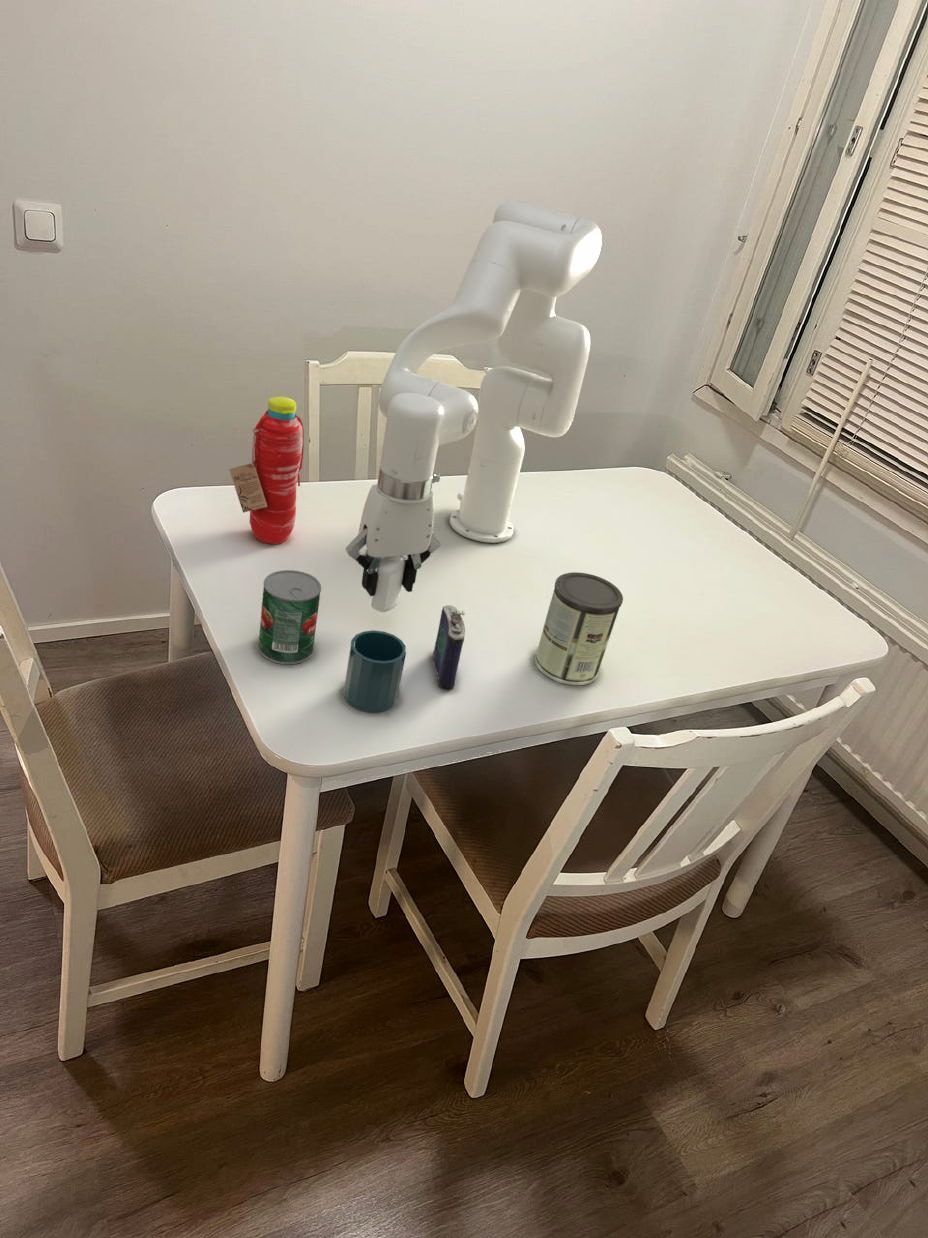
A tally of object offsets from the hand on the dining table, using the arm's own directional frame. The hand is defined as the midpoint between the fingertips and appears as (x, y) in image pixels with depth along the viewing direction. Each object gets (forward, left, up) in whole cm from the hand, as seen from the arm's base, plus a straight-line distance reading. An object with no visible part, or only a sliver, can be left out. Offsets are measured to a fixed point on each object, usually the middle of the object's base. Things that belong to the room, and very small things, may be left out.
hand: (387, 588), depth 136 cm
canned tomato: (+3, -16, -7) cm, 18 cm away
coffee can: (+16, +25, -7) cm, 30 cm away
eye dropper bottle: (0, 0, -3) cm, 3 cm away
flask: (+14, +4, -7) cm, 16 cm away
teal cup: (+16, -8, -7) cm, 20 cm away
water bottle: (-29, -10, -7) cm, 31 cm away
